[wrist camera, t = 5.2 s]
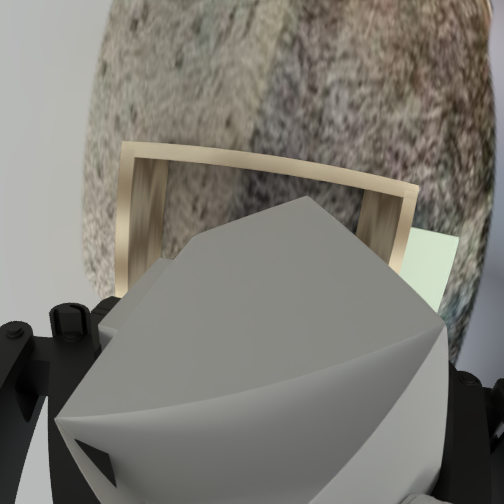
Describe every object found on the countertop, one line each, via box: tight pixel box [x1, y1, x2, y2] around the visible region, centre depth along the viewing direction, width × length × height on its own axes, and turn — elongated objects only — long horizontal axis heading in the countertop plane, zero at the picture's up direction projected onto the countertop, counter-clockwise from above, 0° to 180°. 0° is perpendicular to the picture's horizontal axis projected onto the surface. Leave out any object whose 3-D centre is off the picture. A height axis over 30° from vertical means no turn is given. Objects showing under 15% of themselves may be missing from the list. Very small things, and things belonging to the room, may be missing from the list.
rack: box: [115, 141, 419, 298], centre depth 30 cm, size 17×23×10 cm
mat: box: [399, 227, 459, 313], centre depth 35 cm, size 12×12×1 cm
